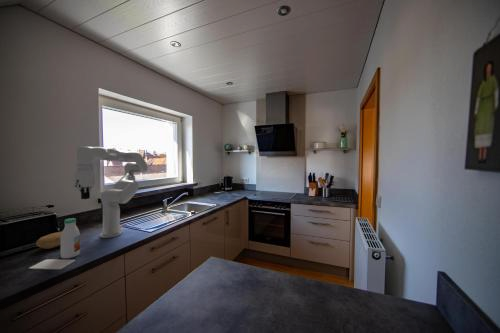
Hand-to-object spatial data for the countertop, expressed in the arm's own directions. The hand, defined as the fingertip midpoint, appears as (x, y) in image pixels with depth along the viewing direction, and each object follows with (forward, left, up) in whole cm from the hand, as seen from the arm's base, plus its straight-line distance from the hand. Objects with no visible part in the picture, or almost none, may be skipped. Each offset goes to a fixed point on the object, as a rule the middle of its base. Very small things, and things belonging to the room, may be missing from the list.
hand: (85, 198), depth 114 cm
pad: (+19, 0, -29) cm, 35 cm away
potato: (+1, -18, -29) cm, 34 cm away
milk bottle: (+10, 0, -29) cm, 31 cm away
